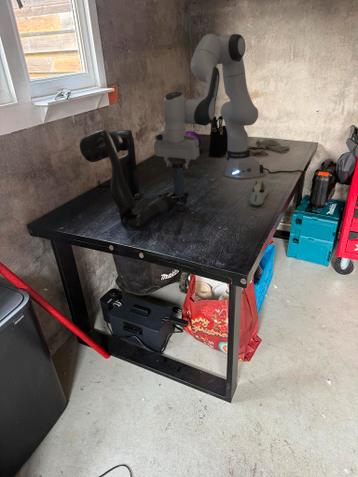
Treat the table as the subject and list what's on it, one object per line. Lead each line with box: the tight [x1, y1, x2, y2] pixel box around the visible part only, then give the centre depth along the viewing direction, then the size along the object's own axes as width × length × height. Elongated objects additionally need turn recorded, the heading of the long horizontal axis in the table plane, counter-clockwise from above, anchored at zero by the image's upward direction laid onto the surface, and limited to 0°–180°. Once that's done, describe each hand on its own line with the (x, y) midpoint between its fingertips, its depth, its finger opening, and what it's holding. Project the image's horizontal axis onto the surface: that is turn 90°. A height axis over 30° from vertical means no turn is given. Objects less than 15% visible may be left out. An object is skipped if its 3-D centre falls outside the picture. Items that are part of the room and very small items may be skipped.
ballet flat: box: [249, 179, 269, 207], centre depth 158 cm, size 8×24×8 cm, turn 163°
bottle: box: [173, 167, 186, 212], centre depth 148 cm, size 4×4×21 cm
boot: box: [209, 115, 219, 139], centre depth 247 cm, size 9×24×20 cm, turn 168°
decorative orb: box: [186, 130, 202, 149], centre depth 230 cm, size 15×15×15 cm
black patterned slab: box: [208, 115, 228, 158], centre depth 222 cm, size 21×9×25 cm, turn 148°
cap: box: [172, 160, 184, 170], centre depth 143 cm, size 4×4×2 cm
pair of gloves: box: [247, 138, 291, 157], centre depth 228 cm, size 30×26×5 cm
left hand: (182, 193), depth 152 cm, fingers closed on bottle, 4 cm apart
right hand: (177, 167), depth 144 cm, fingers open, 7 cm apart
